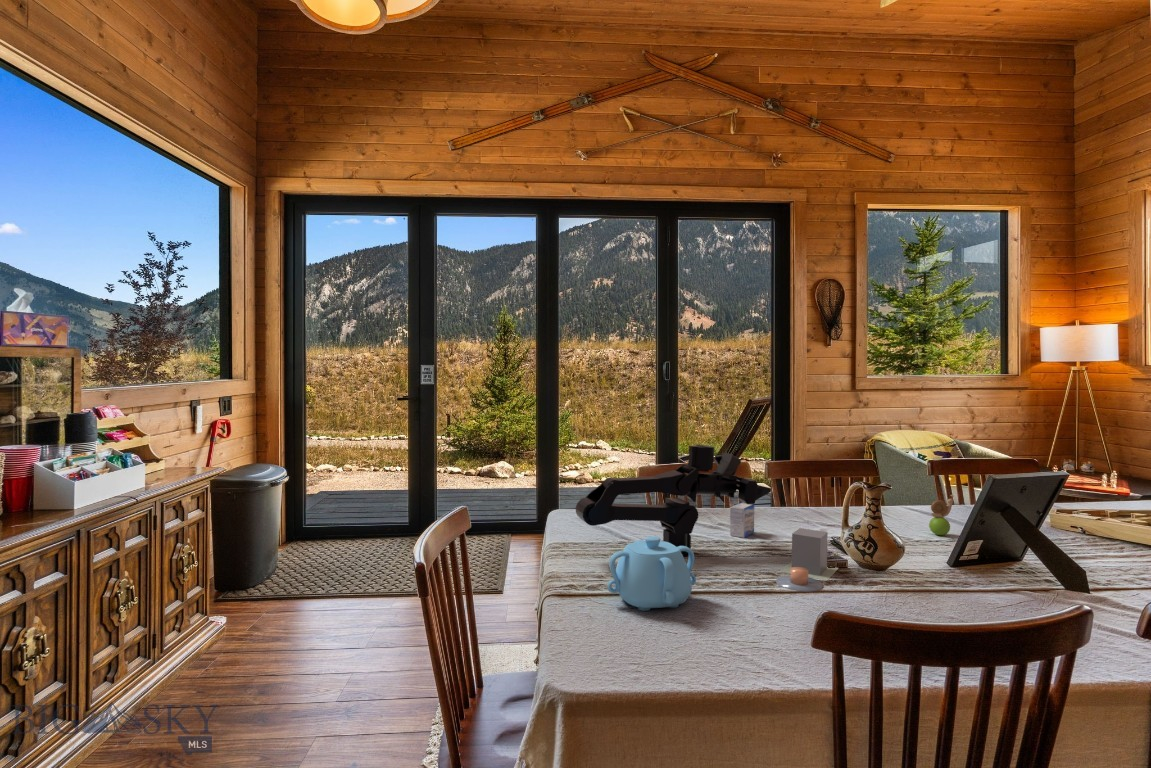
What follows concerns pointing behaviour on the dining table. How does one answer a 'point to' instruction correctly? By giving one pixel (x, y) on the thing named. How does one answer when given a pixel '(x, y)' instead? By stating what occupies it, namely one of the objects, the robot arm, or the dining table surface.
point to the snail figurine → (940, 517)
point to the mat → (823, 576)
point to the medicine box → (741, 520)
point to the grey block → (810, 550)
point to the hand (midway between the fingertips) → (761, 486)
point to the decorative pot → (652, 574)
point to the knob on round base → (799, 581)
